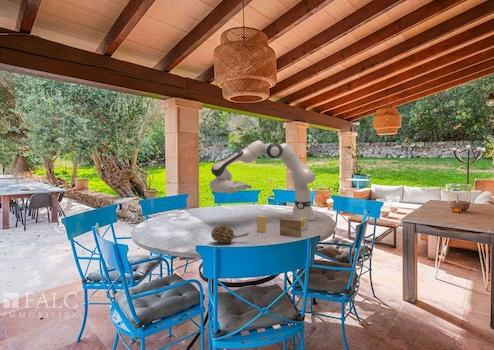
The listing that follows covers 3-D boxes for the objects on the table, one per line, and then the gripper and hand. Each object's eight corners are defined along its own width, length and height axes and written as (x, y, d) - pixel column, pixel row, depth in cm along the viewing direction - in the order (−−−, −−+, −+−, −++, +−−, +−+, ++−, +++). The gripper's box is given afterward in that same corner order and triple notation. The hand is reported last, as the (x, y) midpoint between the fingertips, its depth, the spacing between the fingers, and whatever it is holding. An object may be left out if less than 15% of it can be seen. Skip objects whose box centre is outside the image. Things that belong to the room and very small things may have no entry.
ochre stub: (259, 230, 187) (259, 215, 186) (266, 231, 184) (266, 216, 184) (257, 231, 184) (257, 216, 183) (264, 232, 182) (264, 217, 181)
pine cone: (210, 246, 156) (210, 228, 156) (211, 241, 166) (211, 224, 165) (250, 244, 159) (250, 227, 158) (248, 239, 168) (248, 223, 167)
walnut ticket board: (282, 233, 180) (282, 218, 179) (300, 236, 174) (300, 219, 174) (280, 235, 176) (280, 219, 175) (298, 237, 171) (298, 221, 170)
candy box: (305, 228, 192) (305, 216, 191) (307, 229, 190) (308, 217, 190) (292, 234, 179) (292, 221, 178) (295, 234, 178) (295, 221, 177)
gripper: (222, 183, 188) (240, 184, 181) (237, 181, 206) (254, 181, 200) (222, 193, 188) (240, 194, 182) (237, 189, 206) (254, 190, 200)
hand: (248, 187), depth 191 cm, fingers open, 8 cm apart
